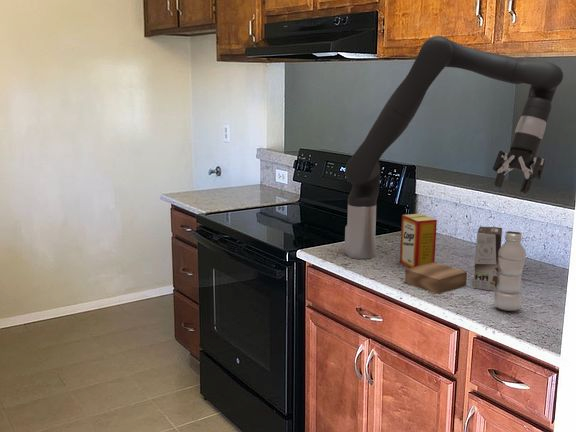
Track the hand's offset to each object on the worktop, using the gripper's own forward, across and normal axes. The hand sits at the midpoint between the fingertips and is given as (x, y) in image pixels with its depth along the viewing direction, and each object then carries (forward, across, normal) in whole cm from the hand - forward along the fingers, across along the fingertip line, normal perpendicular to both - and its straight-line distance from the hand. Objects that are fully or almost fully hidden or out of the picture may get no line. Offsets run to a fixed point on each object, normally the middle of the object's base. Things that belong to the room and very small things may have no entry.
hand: (510, 189), depth 175 cm
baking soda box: (+30, -22, -2) cm, 37 cm away
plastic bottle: (+31, +17, -10) cm, 37 cm away
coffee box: (+28, +2, +1) cm, 28 cm away
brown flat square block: (+32, -7, -10) cm, 34 cm away
